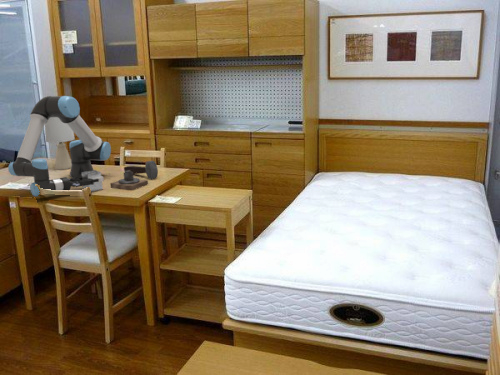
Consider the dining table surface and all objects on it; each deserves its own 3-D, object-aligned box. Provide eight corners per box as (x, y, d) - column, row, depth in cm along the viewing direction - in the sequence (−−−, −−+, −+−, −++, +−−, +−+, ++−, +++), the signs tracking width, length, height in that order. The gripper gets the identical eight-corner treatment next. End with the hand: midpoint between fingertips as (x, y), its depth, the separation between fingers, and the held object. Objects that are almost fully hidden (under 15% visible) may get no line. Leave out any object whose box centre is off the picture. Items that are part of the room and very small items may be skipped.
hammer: (124, 179, 322) (152, 179, 302) (121, 162, 321) (149, 161, 301) (130, 177, 326) (159, 178, 306) (127, 161, 324) (156, 160, 304)
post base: (132, 190, 280) (130, 174, 278) (110, 187, 287) (109, 172, 285) (148, 184, 292) (146, 169, 290) (127, 182, 299) (125, 167, 297)
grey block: (89, 191, 279) (87, 174, 276) (83, 189, 285) (81, 172, 282) (102, 189, 284) (100, 172, 282) (96, 186, 290) (94, 170, 287)
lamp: (74, 170, 336) (67, 115, 326) (45, 171, 334) (38, 116, 325) (80, 164, 354) (75, 112, 344) (54, 165, 352) (47, 113, 343)
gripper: (54, 188, 280) (92, 181, 294) (69, 194, 265) (108, 186, 279) (52, 175, 278) (91, 168, 293) (67, 181, 263) (107, 174, 278)
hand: (99, 177), depth 286 cm, fingers closed on grey block, 8 cm apart
